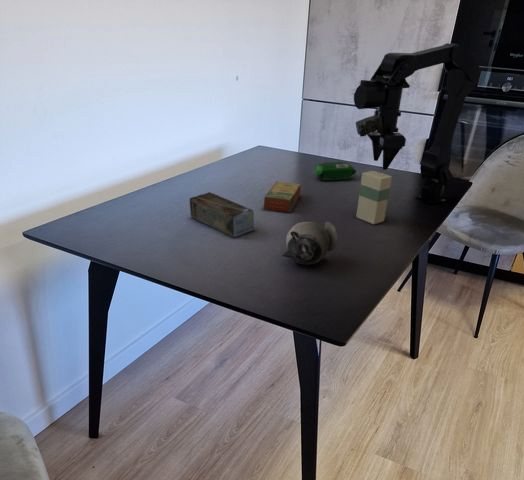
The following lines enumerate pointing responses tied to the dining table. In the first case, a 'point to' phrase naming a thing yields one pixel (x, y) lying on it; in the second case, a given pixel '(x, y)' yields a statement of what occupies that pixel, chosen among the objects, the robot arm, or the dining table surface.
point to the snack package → (334, 171)
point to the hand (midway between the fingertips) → (380, 165)
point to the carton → (282, 197)
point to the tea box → (373, 196)
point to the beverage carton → (222, 214)
